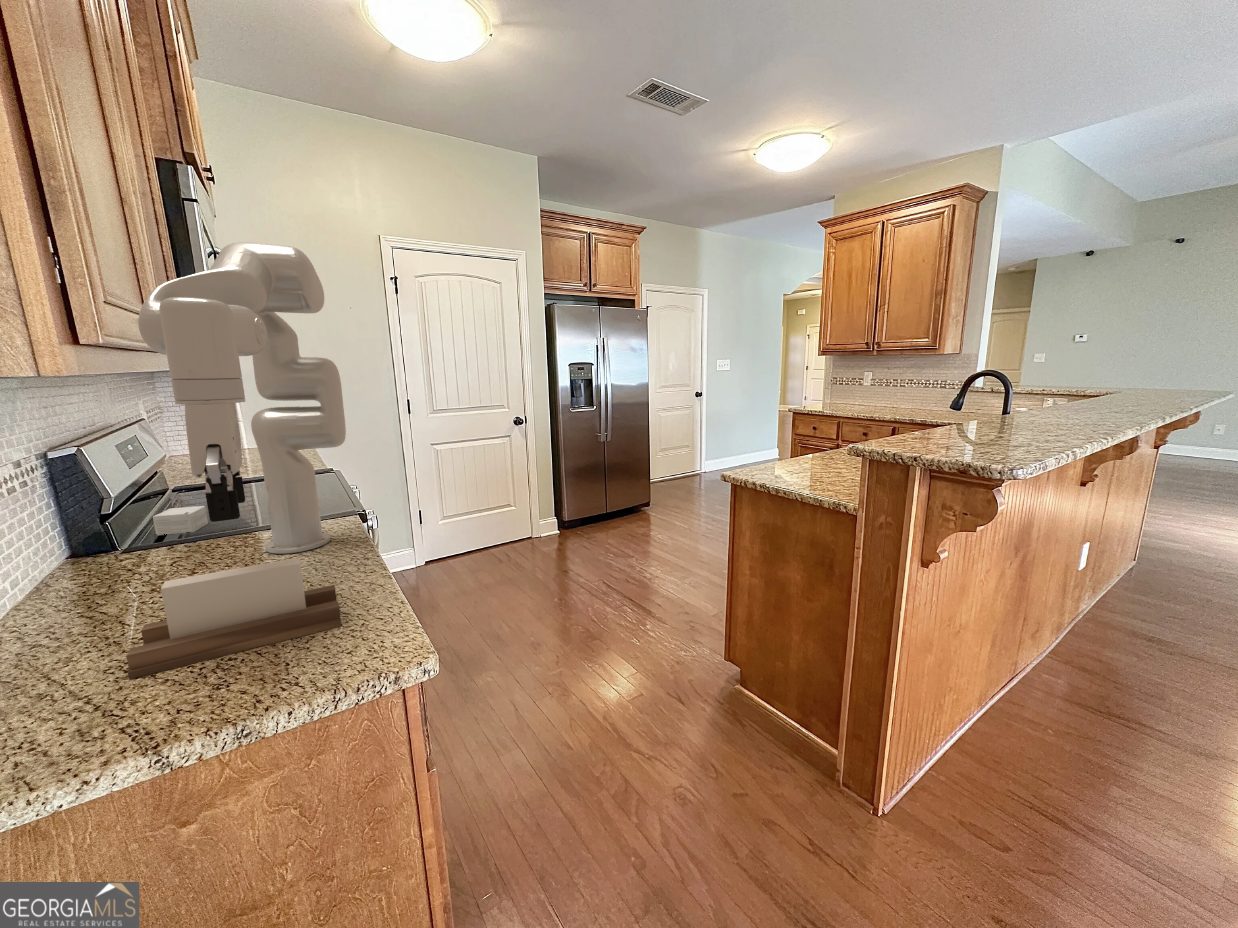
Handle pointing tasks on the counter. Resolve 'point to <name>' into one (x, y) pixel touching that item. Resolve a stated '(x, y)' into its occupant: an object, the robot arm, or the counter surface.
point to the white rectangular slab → (232, 597)
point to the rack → (231, 635)
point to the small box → (180, 520)
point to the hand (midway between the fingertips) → (229, 511)
